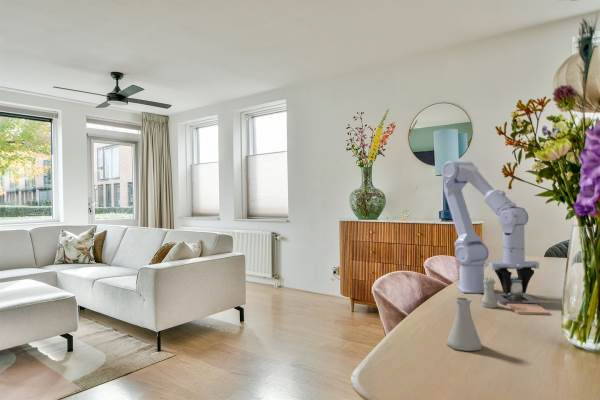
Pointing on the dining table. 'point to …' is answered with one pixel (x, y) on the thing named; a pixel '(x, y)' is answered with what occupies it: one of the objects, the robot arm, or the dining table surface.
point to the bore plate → (503, 301)
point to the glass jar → (515, 289)
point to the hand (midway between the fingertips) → (514, 292)
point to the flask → (464, 328)
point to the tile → (528, 309)
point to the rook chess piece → (489, 294)
